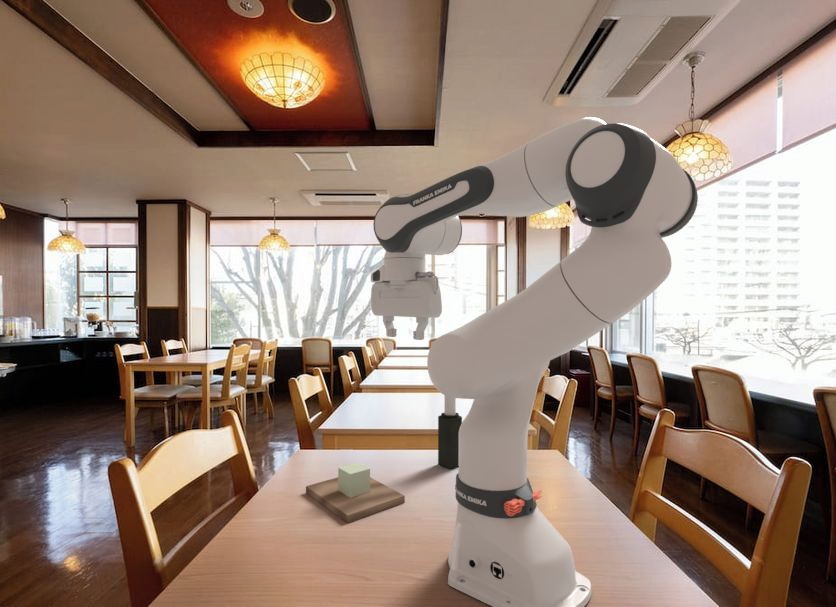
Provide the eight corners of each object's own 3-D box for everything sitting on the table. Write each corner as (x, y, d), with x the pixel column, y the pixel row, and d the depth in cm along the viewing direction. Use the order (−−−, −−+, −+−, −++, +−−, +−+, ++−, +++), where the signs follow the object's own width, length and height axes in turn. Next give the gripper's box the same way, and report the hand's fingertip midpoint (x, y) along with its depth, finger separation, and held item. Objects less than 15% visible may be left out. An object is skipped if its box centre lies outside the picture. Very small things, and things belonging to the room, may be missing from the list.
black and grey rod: (450, 460, 123) (450, 367, 123) (463, 465, 119) (463, 370, 119) (436, 464, 120) (436, 369, 120) (449, 470, 116) (449, 372, 116)
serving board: (404, 502, 97) (404, 495, 97) (347, 523, 88) (347, 515, 88) (359, 477, 111) (359, 471, 111) (305, 492, 102) (305, 486, 102)
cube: (370, 491, 99) (370, 468, 99) (350, 497, 96) (350, 474, 96) (357, 484, 103) (357, 462, 103) (338, 490, 100) (338, 467, 100)
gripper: (449, 271, 91) (449, 340, 91) (388, 275, 106) (388, 334, 107) (425, 270, 87) (425, 342, 87) (366, 274, 102) (366, 336, 103)
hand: (404, 338), depth 97 cm, fingers open, 8 cm apart
